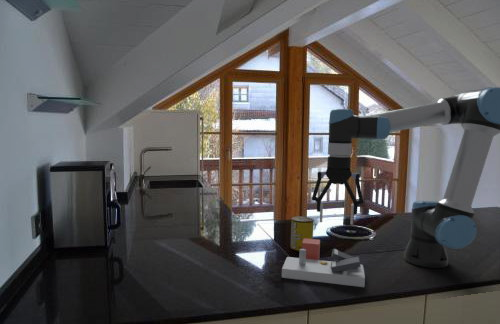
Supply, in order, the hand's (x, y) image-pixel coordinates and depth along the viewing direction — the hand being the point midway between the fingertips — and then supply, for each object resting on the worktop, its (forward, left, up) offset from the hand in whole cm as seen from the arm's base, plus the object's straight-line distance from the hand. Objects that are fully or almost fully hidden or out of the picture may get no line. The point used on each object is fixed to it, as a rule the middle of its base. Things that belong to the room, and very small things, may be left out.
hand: (336, 222), depth 128 cm
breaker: (-3, +6, -12) cm, 14 cm away
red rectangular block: (+9, -8, -18) cm, 21 cm away
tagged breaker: (-3, 0, -12) cm, 12 cm away
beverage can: (+14, -25, -18) cm, 33 cm away
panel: (+4, +3, -18) cm, 18 cm away
